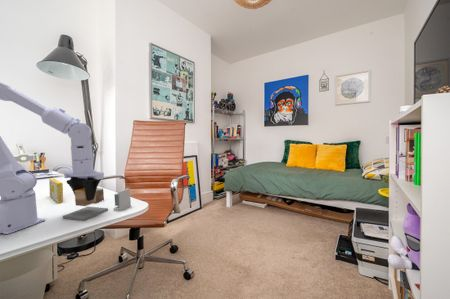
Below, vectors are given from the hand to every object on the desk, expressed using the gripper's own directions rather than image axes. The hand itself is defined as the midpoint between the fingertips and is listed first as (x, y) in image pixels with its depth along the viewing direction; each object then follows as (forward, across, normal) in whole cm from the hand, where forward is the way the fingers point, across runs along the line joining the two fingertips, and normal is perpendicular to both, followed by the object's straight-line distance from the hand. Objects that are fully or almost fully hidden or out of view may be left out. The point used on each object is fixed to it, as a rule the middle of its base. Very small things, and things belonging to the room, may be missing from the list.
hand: (85, 199), depth 68 cm
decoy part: (+5, +9, -12) cm, 16 cm away
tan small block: (+2, 0, 0) cm, 2 cm away
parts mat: (+5, 0, 0) cm, 5 cm away
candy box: (+5, +29, -11) cm, 31 cm away
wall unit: (+5, -8, -8) cm, 12 cm away
